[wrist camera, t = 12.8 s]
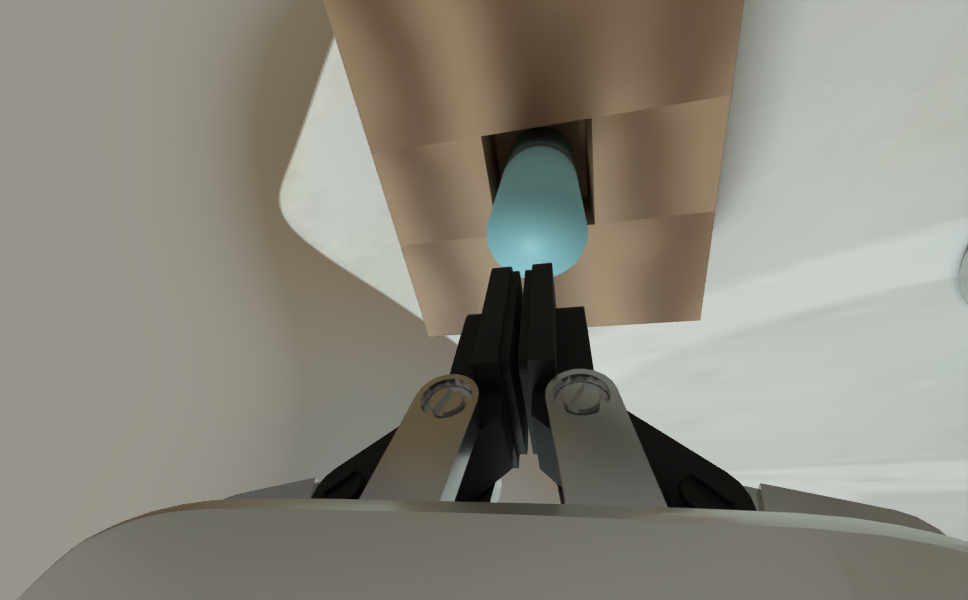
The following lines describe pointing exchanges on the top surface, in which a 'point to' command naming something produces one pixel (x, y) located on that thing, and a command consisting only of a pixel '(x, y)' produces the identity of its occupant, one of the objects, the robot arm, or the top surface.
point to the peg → (538, 205)
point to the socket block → (556, 104)
